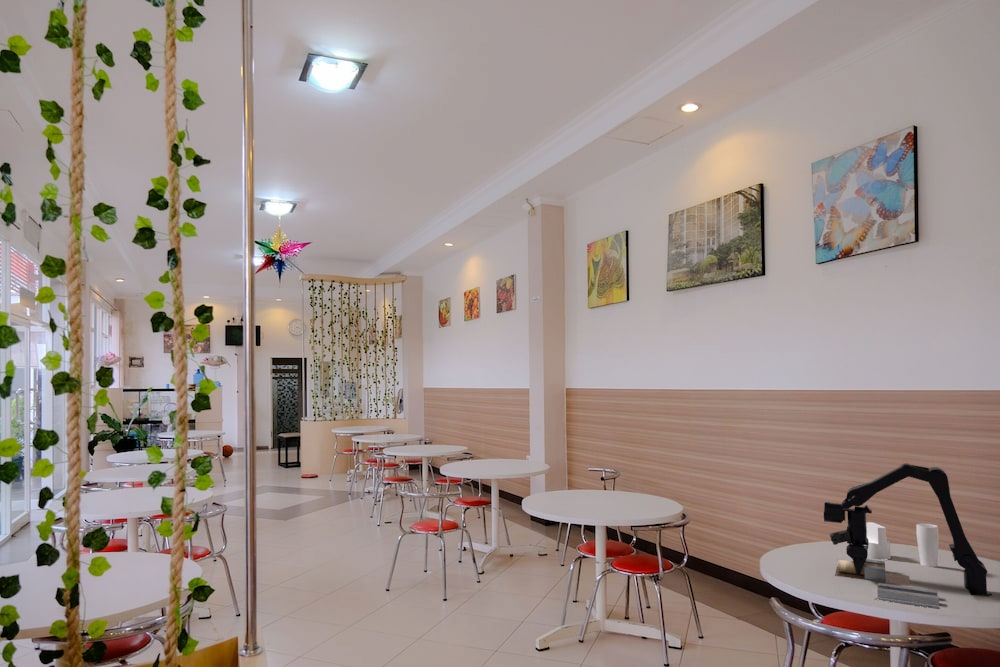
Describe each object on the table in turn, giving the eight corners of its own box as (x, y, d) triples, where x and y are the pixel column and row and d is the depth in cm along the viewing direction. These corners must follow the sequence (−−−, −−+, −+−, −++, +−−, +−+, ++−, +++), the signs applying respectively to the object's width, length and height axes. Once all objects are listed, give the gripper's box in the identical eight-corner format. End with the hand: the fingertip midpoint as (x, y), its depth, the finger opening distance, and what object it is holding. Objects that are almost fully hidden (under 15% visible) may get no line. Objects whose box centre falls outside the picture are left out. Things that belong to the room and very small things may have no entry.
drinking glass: (944, 570, 236) (942, 527, 237) (925, 570, 236) (923, 527, 237) (932, 564, 243) (930, 523, 244) (913, 564, 243) (912, 523, 244)
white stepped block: (895, 560, 249) (894, 527, 250) (871, 560, 249) (870, 527, 250) (882, 553, 258) (881, 522, 259) (858, 553, 258) (857, 522, 259)
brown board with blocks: (909, 578, 227) (908, 563, 227) (910, 588, 216) (909, 573, 217) (837, 569, 238) (836, 555, 238) (834, 578, 227) (834, 563, 228)
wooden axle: (884, 575, 227) (884, 563, 227) (884, 579, 224) (884, 567, 224) (838, 569, 234) (838, 558, 234) (837, 573, 231) (837, 561, 231)
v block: (937, 600, 206) (936, 590, 206) (939, 609, 198) (939, 599, 198) (877, 591, 214) (877, 582, 214) (877, 600, 206) (877, 590, 206)
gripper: (832, 517, 242) (834, 560, 241) (829, 527, 226) (830, 574, 225) (867, 520, 237) (869, 565, 236) (866, 531, 220) (868, 579, 220)
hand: (858, 570), depth 229 cm, fingers open, 9 cm apart
